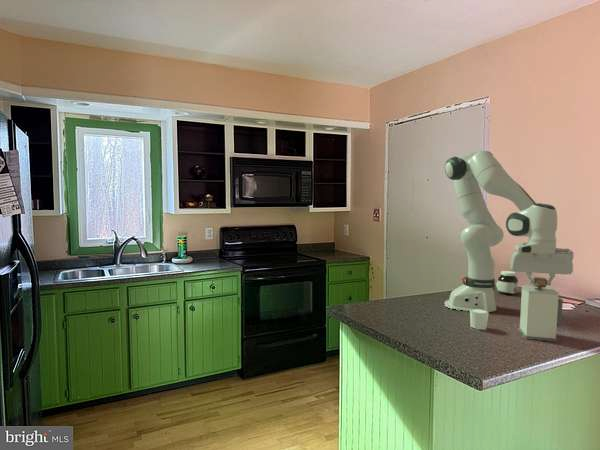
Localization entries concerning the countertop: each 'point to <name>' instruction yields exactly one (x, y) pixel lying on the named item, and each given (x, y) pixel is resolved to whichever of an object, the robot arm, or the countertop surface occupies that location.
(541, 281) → the plunger
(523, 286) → the block
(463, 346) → the countertop surface
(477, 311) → the shot glass
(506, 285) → the spread jar
